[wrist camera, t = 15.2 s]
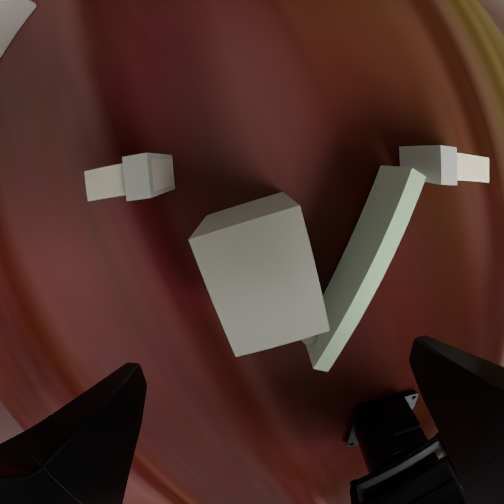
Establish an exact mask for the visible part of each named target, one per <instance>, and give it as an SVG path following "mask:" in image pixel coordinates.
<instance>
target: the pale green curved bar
mask: <svg viewBox="0 0 504 504" xmlns="http://www.w3.org/2000/svg"><path fill="white" fill-rule="evenodd" d="M425 179H426V176H424V175H423V174H421V173H420V172H418V171H417V170H415V169H414V168H411V167H398V166H382V165H381V166H380V169H379V171H378V174H377V176H376V179H375V181H374V184H373V186H372V189H371V191H370V194H369V196H368V199H367V201H366V204H365V206H364V208H363V211H362V213H361V215H360V218H359V220H358V222H357V225H356V227H355V229H354V231H353V234H352V236H351V238H350V240H349V243H348V245H347V247H346V249H345V251H344V253H343V256H342V258H341V260H340V262H339V264H338V266H337V268H336V270H335V272H334V274H333V276H332V279H331V281H330V283H329V285H328V287H327V289H326V291H325V293H324V295H323V300H324V305H325V309H326V314H327V319H328V323H329V328H330V331H328V332H325V333H321V334H318V335H315V336H312V337H308V338H305V339H302V342H303V343H305V344H306V347H307V350H308V354H309V357H310V360H311V363H312V367H313V369H317V370H321V371H326V372H328V371H329V370H330V368H331V367H332V365H333V364H334V362H335V360H336V359H337V357H338V356H339V354H340V353H341V351H342V349H343V348H344V346H345V345H346V343H347V341H348V340H349V338H350V336H351V335H352V333H353V331H354V330H355V328H356V326H357V324H358V323H359V321H360V319H361V317H362V316H363V314H364V312H365V310H366V309H367V307H368V305H369V303H370V301H371V299H372V298H373V296H374V294H375V292H376V290H377V288H378V286H379V284H380V282H381V280H382V278H383V276H384V274H385V272H386V270H387V268H388V266H389V264H390V262H391V260H392V258H393V256H394V254H395V252H396V249H397V247H398V245H399V243H400V241H401V238H402V236H403V234H404V232H405V229H406V227H407V225H408V222H409V220H410V218H411V215H412V213H413V210H414V208H415V205H416V203H417V200H418V198H419V195H420V192H421V190H422V187H423V184H424V182H425Z"/></svg>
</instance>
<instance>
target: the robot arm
mask: <svg viewBox="0 0 504 504" xmlns="http://www.w3.org/2000/svg"><path fill="white" fill-rule="evenodd" d="M409 362H410V366H411V368H412V371H413V373H414V376H415V379H416V381H417V384H418V387H419V389H420V392H421V395H422V397H423V399H424V402H425V404H426V406H427V408H428V410H429V412H430V414H431V416H432V418H433V420H434V423H435V425H436V427H437V429H438V431H439V432H438V433H437V434H436V435H435V436H434V437H433V438H431V439H430V440H428V439H427V437H426V435H425V433H424V432H423V430H422V428H421V424H420V422H419V421H418V419H417V417H416V415H415V414H414V412H413V408H414V405H415V403H416V400H417V398H418V393H417V392H416V391H413V392H409V393H406V394H402V395H399V396H395V397H391V398H387V399H383V400H379V401H375V402H371V403H366V404H362V405H359V406H357V407H356V408H355V411H354V415H353V419H352V423H351V427H350V430H349V434H348V438H347V441H346V444H347V446H348V447H352V446H356V445H359V446H360V449H361V452H362V455H363V458H364V460H365V463H366V466H367V469H368V472H369V474H368V475H366V476H364V477H361V478H359V479H355V480H353V481H350V486H351V489H350V496H351V504H504V367H502V366H500V365H497V364H495V363H492V362H490V361H487V360H485V359H482V358H480V357H477V356H475V355H472V354H470V353H467V352H465V351H462V350H460V349H457V348H455V347H453V346H450V345H448V344H445V343H443V342H440V341H438V340H435V339H433V338H430V337H428V336H420V337H416V338H415V339H414V341H413V344H412V348H411V352H410V356H409ZM146 390H147V383H146V380H145V377H144V374H143V372H142V369H141V366H140V365H139V364H138V363H126V364H124V365H123V366H121V367H120V368H119V369H117V370H116V371H114V372H113V373H111V374H110V375H109V376H107V377H106V378H104V379H103V380H101V381H100V382H98V383H97V384H96V385H94V386H93V387H91V388H90V389H88V390H87V391H85V392H84V393H82V394H81V395H80V396H78V397H77V398H75V399H74V400H72V401H71V402H69V403H68V404H66V405H65V406H63V407H62V408H60V409H59V410H57V411H56V412H54V413H53V415H52V414H51V415H50V416H48V417H47V418H46V419H44V420H42V421H41V422H39V423H38V424H36V425H35V426H33V427H31V428H29V429H28V430H26V431H24V432H22V433H20V434H18V435H16V436H15V437H13V438H11V439H9V440H7V441H5V442H3V443H1V444H0V504H122V503H123V498H124V494H125V489H126V485H127V480H128V476H129V472H130V468H131V464H132V460H133V456H134V452H135V448H136V444H137V440H138V436H139V432H140V428H141V423H142V417H143V410H144V403H145V397H146ZM443 455H444V457H443V458H441V459H440V460H439V459H438V458H440V457H441V456H443Z"/></svg>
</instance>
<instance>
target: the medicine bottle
mask: <svg viewBox="0 0 504 504" xmlns="http://www.w3.org/2000/svg"><path fill="white" fill-rule="evenodd" d="M35 8H36V3H34V2H32V1H31V0H0V59H1V57H2V55H3V54H4V52H5V50H6V49H7V47H8V46H9V44H10V43H11V41H12V40H13V38H14V37H15V35H16V34H17V32H18V31H19V29H20V28H21V27H22V25H23V24H24V23H25V21H26V20H27V19H28V17H29V16H30V15H31V13H32V12H33V11H34V10H35Z"/></svg>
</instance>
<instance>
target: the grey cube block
mask: <svg viewBox="0 0 504 504" xmlns="http://www.w3.org/2000/svg"><path fill="white" fill-rule="evenodd" d="M189 243H190V245H191V248H192V251H193V253H194V256H195V259H196V261H197V264H198V266H199V269H200V272H201V274H202V277H203V279H204V282H205V284H206V287H207V289H208V292H209V294H210V297H211V299H212V302H213V304H214V307H215V309H216V312H217V314H218V317H219V319H220V321H221V324H222V326H223V329H224V331H225V333H226V336H227V338H228V340H229V343H230V345H231V347H232V350H233V352H234V354H235V356H236V357H238V356H242V355H246V354H250V353H254V352H258V351H262V350H266V349H270V348H274V347H277V346H281V345H284V344H288V343H291V342H295V341H298V340H302V339H305V338H308V337H312V336H315V335H318V334H321V333H325V332H328V331H330V328H329V323H328V319H327V314H326V309H325V305H324V300H323V296H322V291H321V287H320V283H319V278H318V274H317V270H316V266H315V262H314V257H313V253H312V249H311V245H310V241H309V238H308V234H307V230H306V226H305V222H304V218H303V215H302V211H301V207H300V205H299V204H298V203H296V202H295V201H294V200H292V199H291V198H290V197H289V196H287V195H286V194H285V193H283V192H280V193H277V194H274V195H270V196H267V197H263V198H260V199H257V200H254V201H250V202H247V203H244V204H241V205H237V206H234V207H231V208H228V209H225V210H222V211H218V212H215V213H212V214H209V215H206V217H205V218H204V219H203V221H202V222H201V223H200V225H199V226H198V227H197V229H196V230H195V231H194V233H193V234H192V236H191V237H190V238H189Z"/></svg>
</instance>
